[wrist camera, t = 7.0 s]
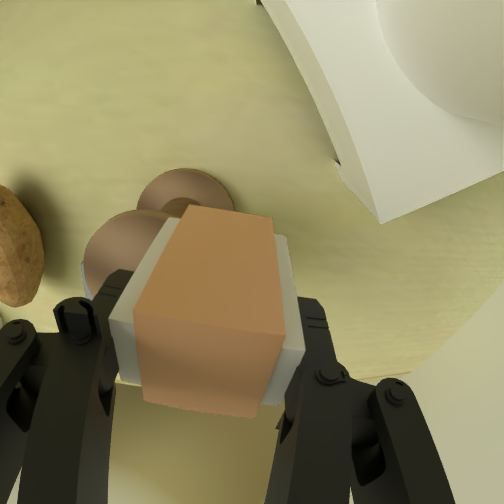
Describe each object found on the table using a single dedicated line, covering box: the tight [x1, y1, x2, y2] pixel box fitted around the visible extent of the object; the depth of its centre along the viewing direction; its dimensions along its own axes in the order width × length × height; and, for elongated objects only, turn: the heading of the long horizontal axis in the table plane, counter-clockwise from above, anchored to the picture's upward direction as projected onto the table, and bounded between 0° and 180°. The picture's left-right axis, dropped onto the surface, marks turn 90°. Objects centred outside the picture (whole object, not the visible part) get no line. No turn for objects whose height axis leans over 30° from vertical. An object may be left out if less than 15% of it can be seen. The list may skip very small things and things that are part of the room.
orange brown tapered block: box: [133, 204, 286, 419], centre depth 11 cm, size 4×4×7 cm
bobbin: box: [83, 168, 235, 298], centre depth 22 cm, size 9×9×11 cm
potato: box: [0, 185, 44, 308], centre depth 24 cm, size 10×14×8 cm
